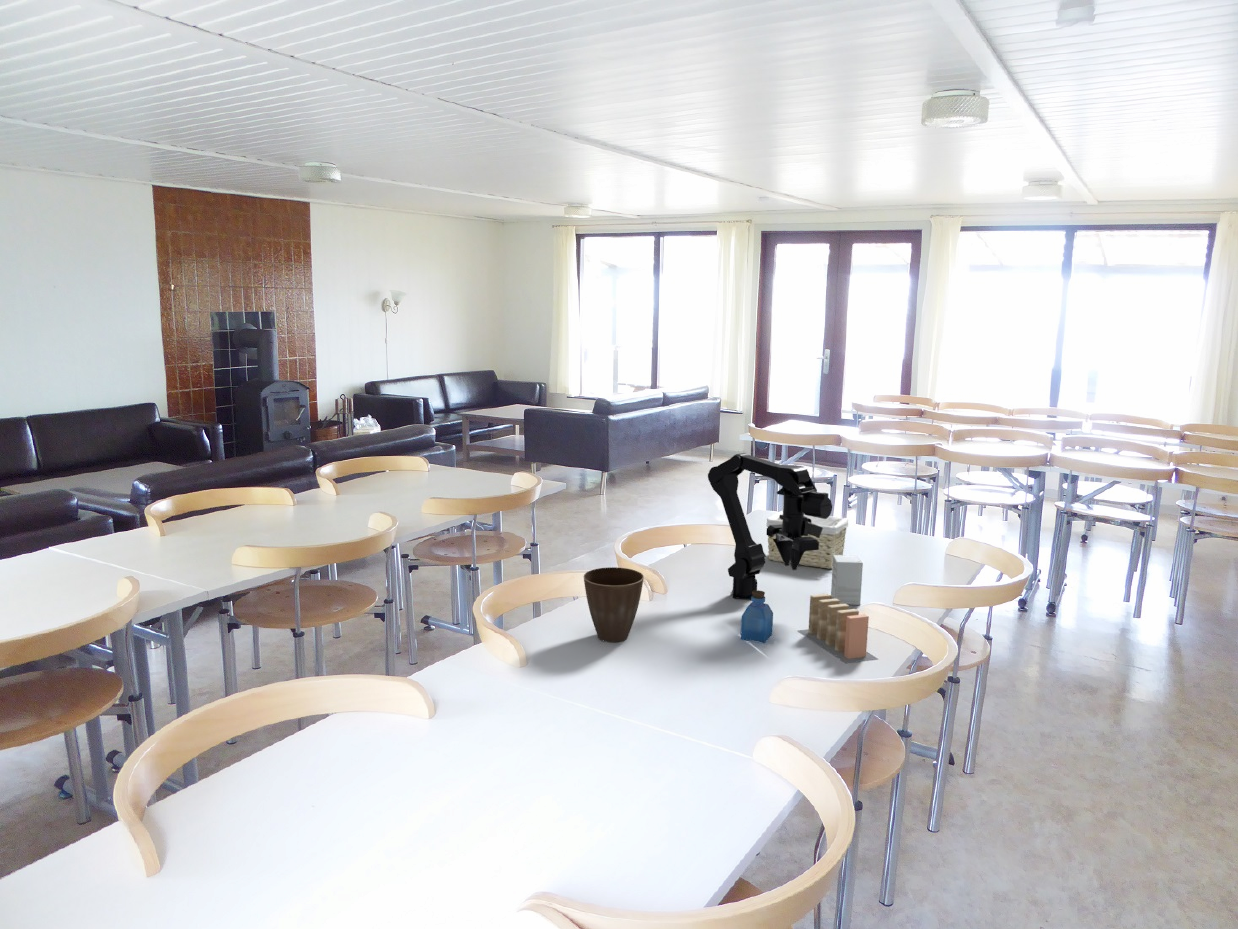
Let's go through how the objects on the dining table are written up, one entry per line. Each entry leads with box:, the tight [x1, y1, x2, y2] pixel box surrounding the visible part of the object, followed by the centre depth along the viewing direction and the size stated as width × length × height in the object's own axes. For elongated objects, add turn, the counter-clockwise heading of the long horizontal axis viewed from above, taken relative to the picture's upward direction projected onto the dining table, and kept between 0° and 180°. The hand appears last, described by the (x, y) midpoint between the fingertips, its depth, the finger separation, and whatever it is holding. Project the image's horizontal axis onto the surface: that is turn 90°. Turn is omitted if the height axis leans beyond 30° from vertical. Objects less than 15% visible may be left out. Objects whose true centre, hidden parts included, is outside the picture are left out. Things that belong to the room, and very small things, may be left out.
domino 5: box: [844, 613, 870, 659], centre depth 201 cm, size 2×5×10 cm, turn 109°
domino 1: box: [807, 593, 832, 635], centre depth 216 cm, size 2×5×10 cm, turn 109°
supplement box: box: [830, 554, 864, 606], centre depth 242 cm, size 7×7×13 cm
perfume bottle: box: [740, 589, 774, 644], centre depth 213 cm, size 6×6×12 cm
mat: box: [797, 628, 879, 664], centre depth 209 cm, size 22×9×1 cm, turn 19°
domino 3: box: [826, 604, 850, 646], centre depth 208 cm, size 2×5×10 cm, turn 109°
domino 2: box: [817, 598, 840, 641], centre depth 212 cm, size 2×5×10 cm, turn 109°
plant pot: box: [583, 566, 645, 643], centre depth 211 cm, size 15×15×16 cm
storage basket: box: [766, 510, 849, 570], centre depth 283 cm, size 24×16×15 cm
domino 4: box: [835, 608, 860, 653], centre depth 205 cm, size 2×5×10 cm, turn 109°
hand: (790, 567), depth 233 cm, fingers open, 4 cm apart
